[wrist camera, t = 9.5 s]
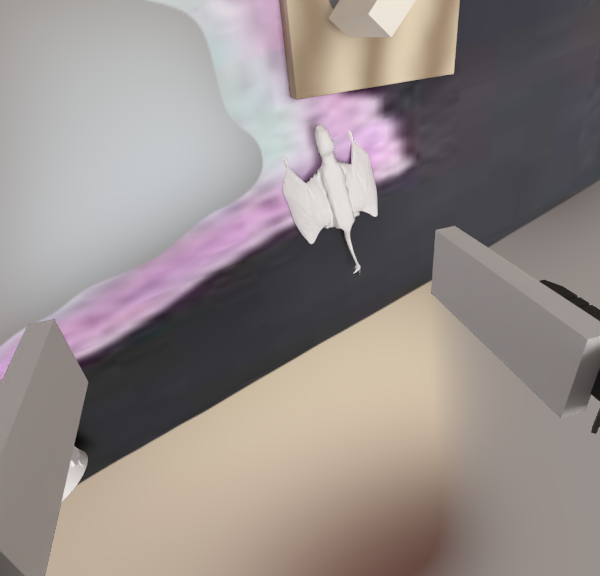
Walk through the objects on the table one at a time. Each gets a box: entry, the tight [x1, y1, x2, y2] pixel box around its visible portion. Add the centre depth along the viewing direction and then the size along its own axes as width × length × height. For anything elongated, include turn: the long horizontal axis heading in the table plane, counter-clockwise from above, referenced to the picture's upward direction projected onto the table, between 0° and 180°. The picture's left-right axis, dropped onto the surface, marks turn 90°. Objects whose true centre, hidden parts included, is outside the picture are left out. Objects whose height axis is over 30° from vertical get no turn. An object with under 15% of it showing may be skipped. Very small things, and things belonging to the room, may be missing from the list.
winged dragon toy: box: [283, 125, 378, 274], centre depth 46 cm, size 18×10×4 cm, turn 18°
